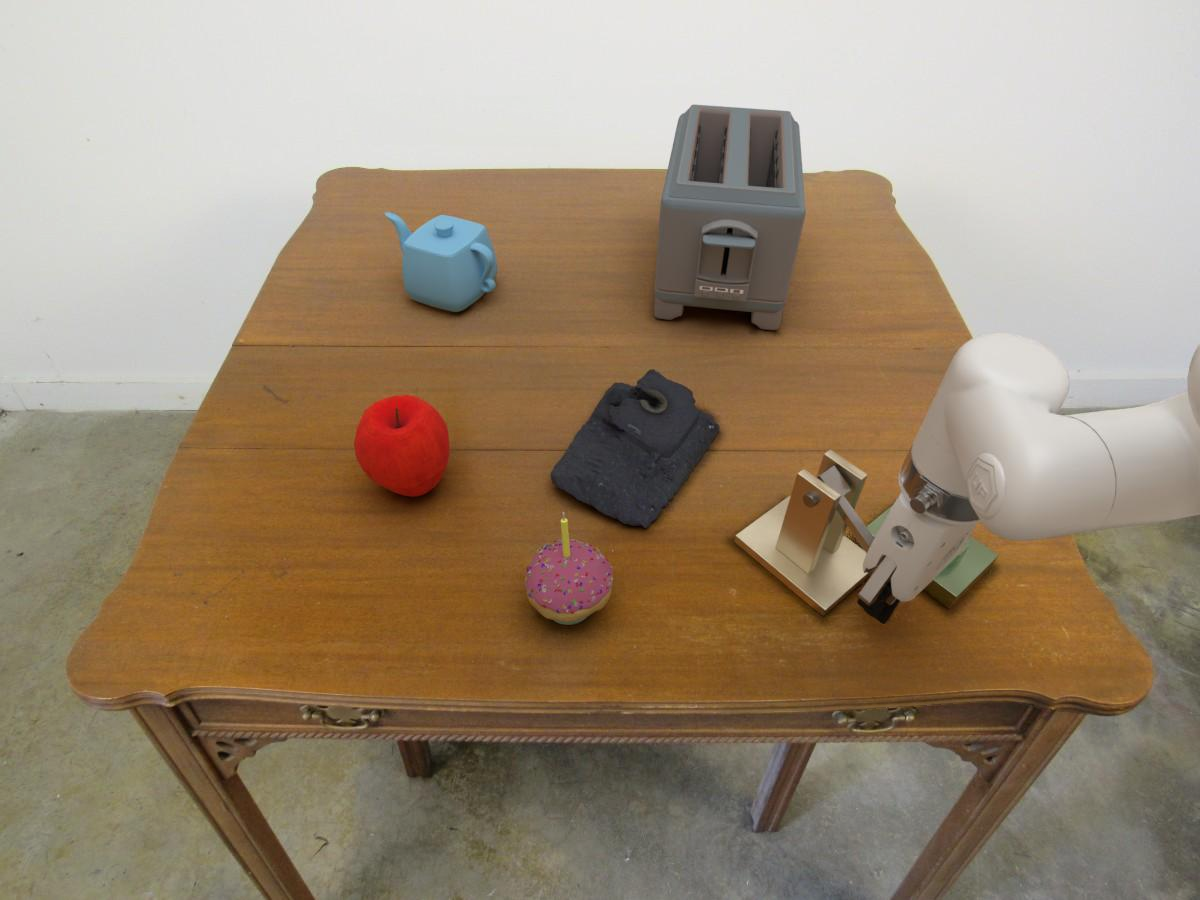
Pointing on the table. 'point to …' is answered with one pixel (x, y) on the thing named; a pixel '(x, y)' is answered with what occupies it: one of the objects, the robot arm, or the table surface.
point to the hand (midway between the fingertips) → (884, 600)
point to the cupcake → (568, 579)
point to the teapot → (446, 261)
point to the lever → (847, 508)
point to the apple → (403, 444)
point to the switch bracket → (811, 538)
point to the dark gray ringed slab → (636, 449)
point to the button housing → (954, 568)
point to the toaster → (730, 213)
